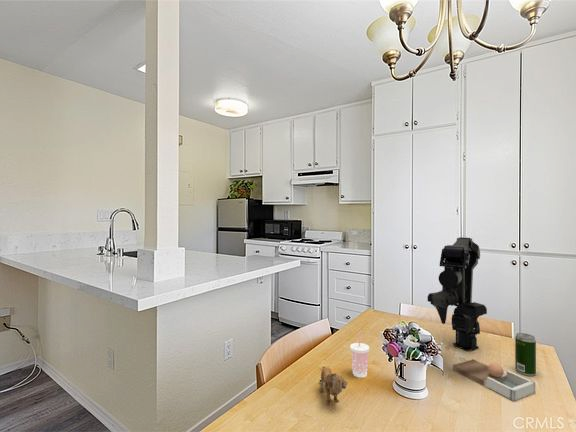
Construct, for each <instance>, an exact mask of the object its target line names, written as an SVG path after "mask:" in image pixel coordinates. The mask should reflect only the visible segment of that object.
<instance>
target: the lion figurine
mask: <svg viewBox="0 0 576 432" xmlns="http://www.w3.org/2000/svg"><path fill="white" fill-rule="evenodd" d="M319 383H320V389H319V392H320V393H323V392H325V395H326V396H325V397H326V405H327V406H330V405H331V404H332V403H331V396H332V397H333V401H334V402H335V404H336V403H337V404H338V403H339V402H340V399H338V395H339V394H340V393H342V391H343V390H346V388H347V386H348V384H349V382H347V381H346V380H345V379H344V378H343V377H342V374H341V373H337V372H335V373H333V372H332V369H331V368H330V367H328V366H325V367H323V368H322V370H321V371H320V379H319ZM324 386H325V391H324Z"/></svg>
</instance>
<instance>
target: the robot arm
mask: <svg viewBox="0 0 576 432" xmlns="http://www.w3.org/2000/svg"><path fill="white" fill-rule="evenodd" d="M440 253H441V254H440V260H439V267H443V268H444V269H443V271H441V272H440V273H439V275H438V282H439V284H440V285H441V286H442V288H441V290H440V291H438V292H437V291H436V292H430V293H428V295H427V302H429V303H430V305H432V306H433V307H434V308H435V309H436V310H437V311H436V312H437V313H438V316H439V318H440V322H441V324H442V325H444V324H446V322H447V317H448V316H447V315H448V308H449V306H454V307H455V308H453V314H452V315H451V329H452V331H455V342H453V343H452V345H453V346H455V347H457V348H460V349H461V350H465V351H467V352H469V351H472V350H475V349H479V346H478V344H477V342H478V341H477V339H478V338H477V335H480V334H481V328H480V322H479V320H478V319H479V317H481V316H483V315H487V313H488V309H487V306H486V304H481V303H479V302H475V301H474V302H473V300H472V299H473V278H474V269H475V268H476V267H477V266H478V264H479V260H480V258H481V250H480V246H479V245H478V244H477V243H475V242H474V240H473V238H471V237H463V236H462V237H457V238H456V241H455V242H453V244H447V245H445V246H443V248H442V249H441V252H440Z"/></svg>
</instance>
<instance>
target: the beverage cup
mask: <svg viewBox="0 0 576 432" xmlns="http://www.w3.org/2000/svg"><path fill="white" fill-rule="evenodd" d="M350 351H351V352H350V353H351V364H352V374H354V375H353V376H354V377H357V378H360V379H361V378H366V377H367V376H368V366H369V365H368V362H369V351H370V346H369V345H368V344H366V343H363V342H361V331H358V342H354V343H351V344H350Z"/></svg>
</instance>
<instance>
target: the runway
mask: <svg viewBox="0 0 576 432" xmlns="http://www.w3.org/2000/svg"><path fill="white" fill-rule="evenodd" d="M488 366H489V365H487V364H485V363H482V362H480V361H478V360H475V359H470V360H466V361H462V362H459V363H456V364H453V365H452V370H453V371H455V372H457V373H459V374H461V376H462V375H463V376H465V377H467V378H468V379H470V380H472V381H473V382H476V383H478V384H480V385H482V386H483V387H485V388H487V377H490V378H492V379H494V380H496V381H498V382H502V381H505V380H507V373H505V372H504V373H503V375H502V376H501V377H494V376H492V375H491V374H490V373H489V371H488Z"/></svg>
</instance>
